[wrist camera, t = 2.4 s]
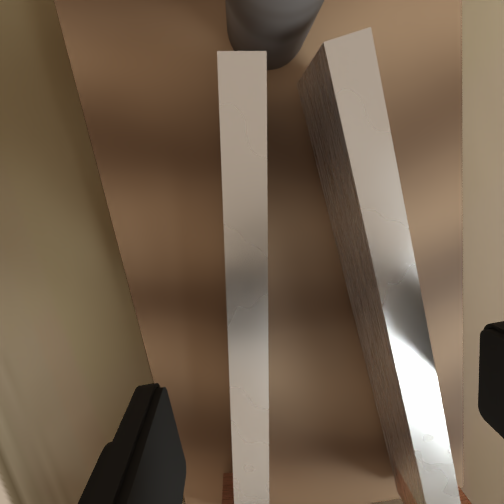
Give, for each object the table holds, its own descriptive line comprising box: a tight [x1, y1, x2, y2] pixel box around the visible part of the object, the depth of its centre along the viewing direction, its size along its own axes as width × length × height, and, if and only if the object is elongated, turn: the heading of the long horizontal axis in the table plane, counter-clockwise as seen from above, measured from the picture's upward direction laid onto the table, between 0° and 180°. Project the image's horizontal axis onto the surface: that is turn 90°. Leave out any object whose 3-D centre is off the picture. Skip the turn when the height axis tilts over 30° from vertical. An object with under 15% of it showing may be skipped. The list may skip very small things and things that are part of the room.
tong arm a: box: [297, 27, 471, 504], centre depth 12 cm, size 19×2×4 cm, turn 17°
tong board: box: [54, 0, 464, 504], centre depth 12 cm, size 24×14×6 cm, turn 9°
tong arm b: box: [217, 51, 269, 504], centre depth 11 cm, size 19×2×4 cm, turn 1°
